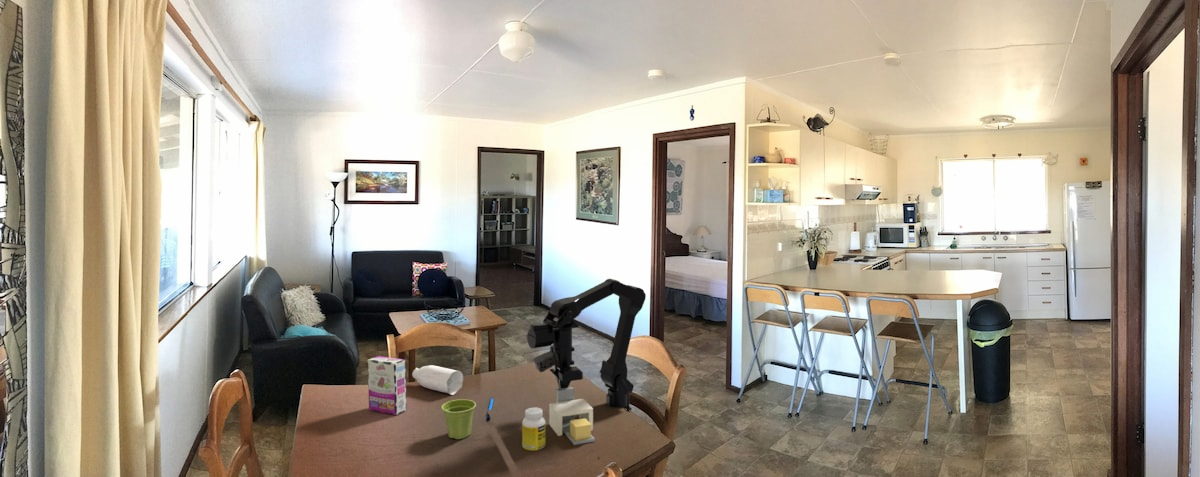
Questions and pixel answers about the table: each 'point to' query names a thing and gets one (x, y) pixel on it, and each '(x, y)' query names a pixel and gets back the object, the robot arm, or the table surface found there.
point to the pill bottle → (533, 429)
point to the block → (580, 429)
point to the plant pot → (459, 417)
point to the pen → (489, 409)
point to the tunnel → (569, 413)
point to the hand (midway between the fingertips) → (562, 394)
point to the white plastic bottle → (439, 378)
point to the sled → (568, 395)
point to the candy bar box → (387, 385)
